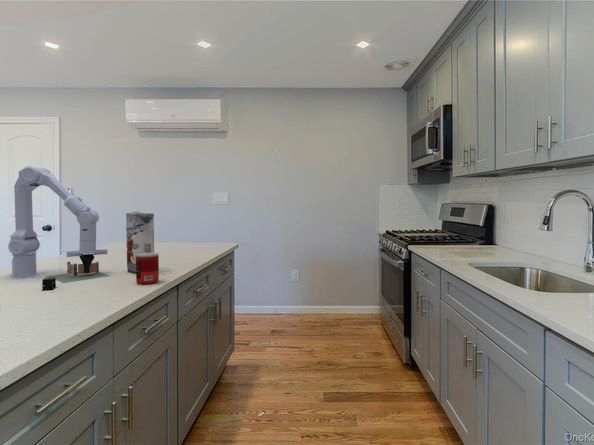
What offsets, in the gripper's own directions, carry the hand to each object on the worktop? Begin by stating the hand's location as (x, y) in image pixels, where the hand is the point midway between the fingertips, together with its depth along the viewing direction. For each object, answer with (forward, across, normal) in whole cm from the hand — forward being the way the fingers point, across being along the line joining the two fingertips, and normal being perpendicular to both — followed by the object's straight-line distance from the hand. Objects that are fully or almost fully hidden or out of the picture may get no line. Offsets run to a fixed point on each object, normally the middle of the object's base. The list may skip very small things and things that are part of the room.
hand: (87, 273), depth 141 cm
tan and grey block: (+1, +1, +7) cm, 7 cm away
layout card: (+1, -3, +1) cm, 3 cm away
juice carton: (+1, +18, -8) cm, 20 cm away
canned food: (+1, +11, -28) cm, 30 cm away
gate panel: (0, +1, +2) cm, 2 cm away
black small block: (+2, -17, -14) cm, 22 cm away
